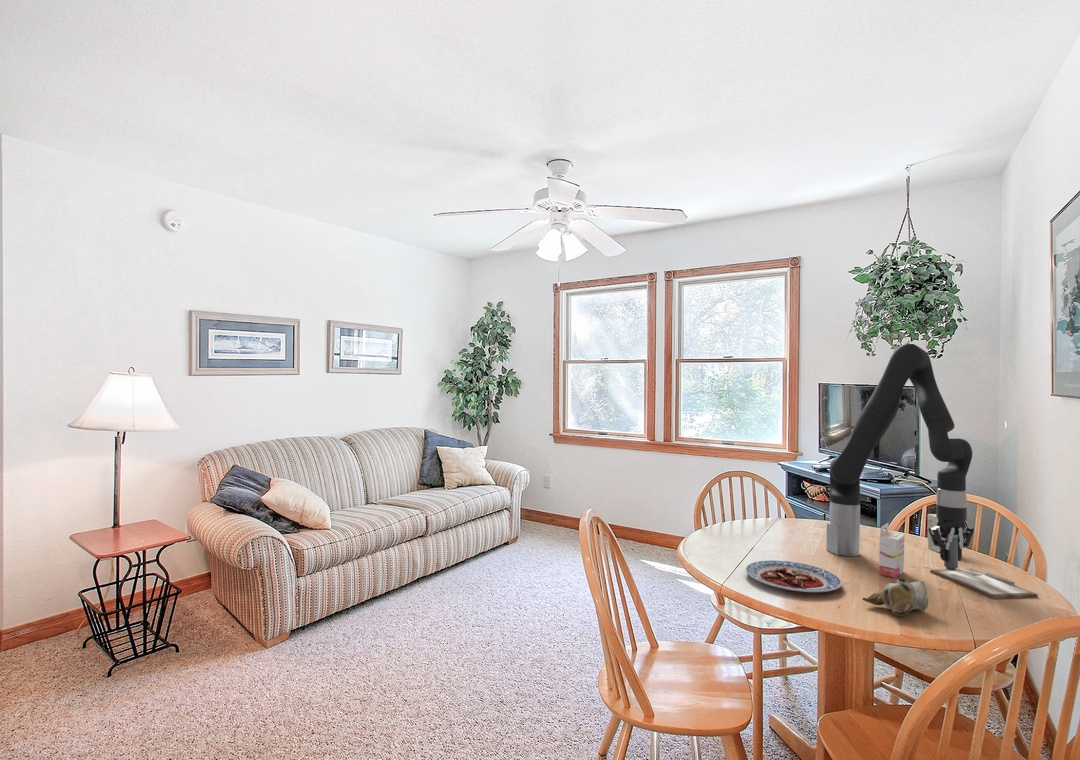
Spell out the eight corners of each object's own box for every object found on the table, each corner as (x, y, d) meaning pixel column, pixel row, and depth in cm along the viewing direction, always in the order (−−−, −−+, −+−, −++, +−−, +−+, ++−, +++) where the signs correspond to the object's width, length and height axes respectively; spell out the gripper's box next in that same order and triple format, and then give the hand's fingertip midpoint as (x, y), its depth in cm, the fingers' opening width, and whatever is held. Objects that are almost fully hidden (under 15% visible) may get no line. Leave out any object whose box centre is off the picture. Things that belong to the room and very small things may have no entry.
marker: (950, 571, 169) (950, 535, 169) (941, 567, 172) (941, 532, 172) (961, 570, 169) (961, 535, 169) (951, 567, 173) (951, 532, 173)
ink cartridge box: (897, 578, 168) (898, 529, 168) (878, 574, 172) (879, 526, 172) (904, 572, 174) (905, 524, 174) (886, 568, 178) (887, 521, 178)
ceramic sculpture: (942, 581, 141) (894, 590, 137) (943, 615, 141) (896, 625, 137) (904, 568, 151) (859, 576, 147) (905, 600, 151) (860, 608, 147)
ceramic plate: (807, 606, 147) (807, 594, 147) (727, 576, 169) (727, 566, 169) (860, 588, 161) (860, 577, 161) (780, 562, 182) (780, 553, 182)
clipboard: (992, 598, 153) (992, 592, 153) (930, 572, 174) (930, 566, 174) (1037, 597, 155) (1037, 590, 155) (970, 571, 176) (970, 565, 176)
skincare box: (951, 553, 194) (952, 518, 194) (939, 553, 194) (939, 517, 194) (938, 547, 201) (939, 513, 201) (926, 547, 201) (927, 513, 201)
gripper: (940, 507, 166) (940, 565, 166) (983, 506, 168) (982, 563, 168) (920, 501, 174) (920, 557, 174) (961, 501, 175) (961, 556, 175)
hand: (951, 560), depth 171 cm, fingers closed on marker, 3 cm apart
